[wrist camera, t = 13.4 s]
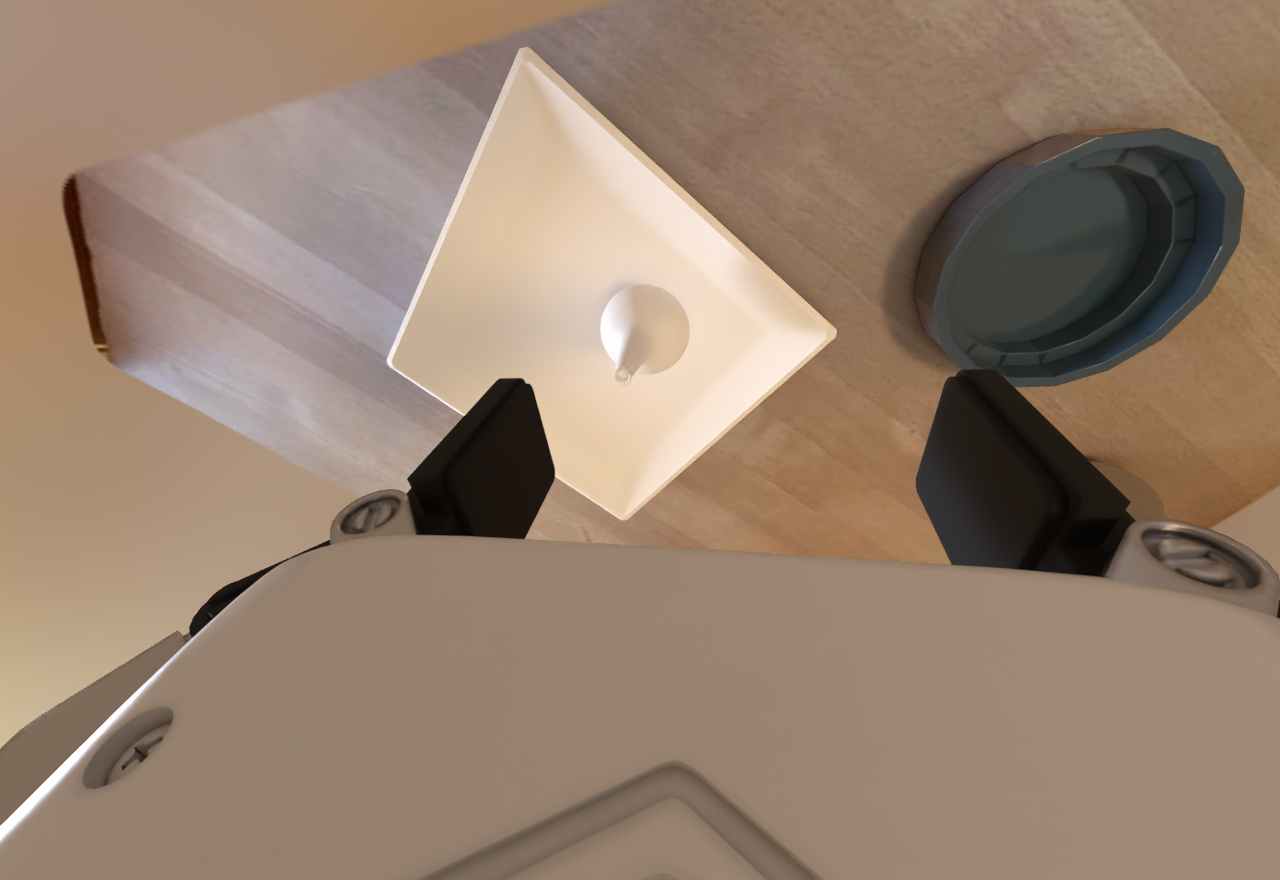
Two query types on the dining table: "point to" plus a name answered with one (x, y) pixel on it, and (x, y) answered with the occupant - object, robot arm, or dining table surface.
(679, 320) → the garlic bulb
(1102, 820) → the robot arm
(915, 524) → the dining table surface
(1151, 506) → the mug
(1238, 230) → the bowl
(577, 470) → the plate
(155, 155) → the dining table surface
